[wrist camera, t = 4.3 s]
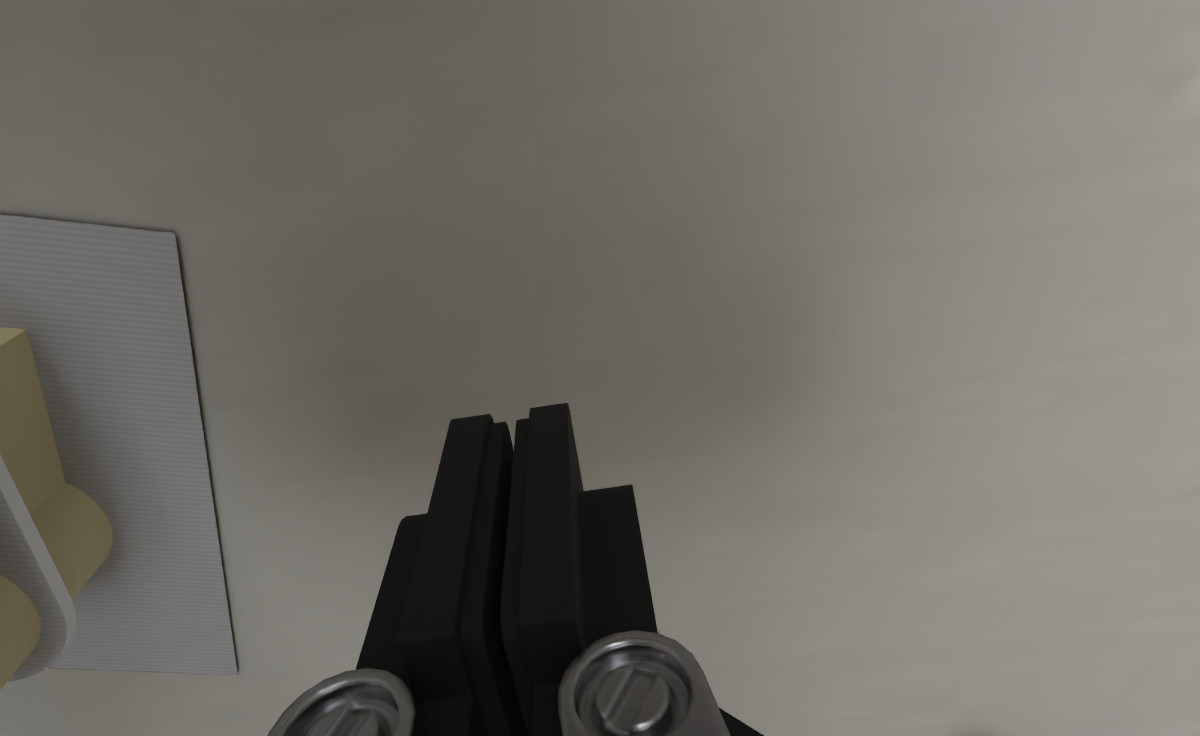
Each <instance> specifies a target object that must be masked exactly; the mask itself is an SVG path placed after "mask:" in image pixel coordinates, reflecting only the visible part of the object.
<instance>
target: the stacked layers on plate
mask: <svg viewBox="0 0 1200 736" xmlns="http://www.w3.org/2000/svg"><path fill="white" fill-rule="evenodd" d="M45 668H56V669H83V670H111V671H138V672H165V673H192V674H219V675H238V674H237V666H236V659H235V652H234V645H233V638H232V631H231V624H230V617H229V610H228V603H227V596H226V589H225V582H224V575H223V568H222V561H221V554H220V547H219V540H218V533H217V526H216V519H215V512H214V505H213V498H212V491H211V484H210V477H209V470H208V462H207V455H206V448H205V441H204V434H203V427H202V420H201V413H200V406H199V399H198V392H197V385H196V378H195V371H194V364H193V357H192V350H191V343H190V336H189V329H188V322H187V315H186V308H185V301H184V294H183V287H182V280H181V273H180V265H179V258H178V251H177V244H176V237H175V233H169V232H160V231H150V230H141V229H132V228H122V227H113V226H104V225H95V224H85V223H76V222H67V221H58V220H48V219H39V218H30V217H21V216H11V215H2V214H0V690H1V689H2V688H3V686H4V685H5V684H6V683H7V681H13V680H18V679H22V678H26V677H29V676H31V675H34V674H36V673H38V672H40V671H42V670H44V669H45Z"/></svg>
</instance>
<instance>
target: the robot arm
mask: <svg viewBox="0 0 1200 736" xmlns="http://www.w3.org/2000/svg"><path fill="white" fill-rule="evenodd" d="M267 736H764V735H762V734H760V733H759V732H757V731H756V730H754V729H752V728H751V727H749V726H748V725H746V724H744V723H743V722H741V721H740V720H738V719H736V718H735V717H733V716H731V715H730V714H728V713H727V712H725V711H723V710H722V709H720V708H719V707H718V705H717V703H716V700H715V698H714V695H713V693H712V691H711V688H710V686H709V684H708V681H707V679H706V676H705V674H704V672H703V670H702V668H701V667H700V665H699V663H698V662H697V660H696V659H695V657H694V656H693V654H692V653H691V652H690V651H688V650H687V649H686V648H685V647H683V646H682V645H681V644H680V643H678V642H677V641H676V640H673V639H671V638H668V637H666V636H663V635H661V634H658V632H657V626H656V620H655V614H654V608H653V602H652V597H651V591H650V585H649V579H648V573H647V567H646V562H645V556H644V550H643V544H642V538H641V532H640V526H639V521H638V515H637V509H636V503H635V497H634V492H633V486H632V485H626V486H618V487H611V488H604V489H597V490H590V491H583V485H582V479H581V473H580V468H579V462H578V456H577V450H576V444H575V438H574V433H573V427H572V421H571V415H570V410H569V405H568V403H563V404H556V405H549V406H542V407H535V408H530V414H529V418H528V419H521V420H517V422H516V432H515V443H514V450H513V446H512V441H511V437H510V432H509V428H508V425H507V423H506V422H499V423H494V421H493V418H492V416H491V415H490V414H485V415H478V416H471V417H464V418H457V419H452V420H451V422H450V425H449V429H448V433H447V437H446V441H445V445H444V449H443V453H442V457H441V461H440V465H439V469H438V473H437V477H436V481H435V485H434V489H433V493H432V497H431V501H430V505H429V509H428V513H427V514H421V515H414V516H406V517H405V518H403V519H402V520H401V522H400V524H399V527H398V530H397V533H396V536H395V540H394V543H393V546H392V550H391V553H390V556H389V560H388V563H387V566H386V570H385V573H384V576H383V580H382V583H381V587H380V590H379V593H378V597H377V600H376V603H375V607H374V610H373V613H372V617H371V620H370V623H369V627H368V630H367V633H366V637H365V640H364V643H363V647H362V650H361V653H360V657H359V660H358V663H357V667H356V670H351V671H345V672H343V673H340V674H338V675H335V676H333V677H330V678H327V679H325V680H323V681H321V682H320V683H318V684H317V685H315V686H314V687H312V688H310V689H309V690H307V691H306V692H304V693H303V694H302V695H301V696H299V697H298V698H297V699H296V700H295V701H294V702H293V703H292V704H291V705H290V706H289V707H288V708H287V709H286V710H285V711H284V712H283V713H282V715H281V716H280V717H279V719H278V720H277V722H276V723H275V725H274V726H273V727H272V729H271V730H270V732H269V734H268V735H267Z"/></svg>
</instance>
